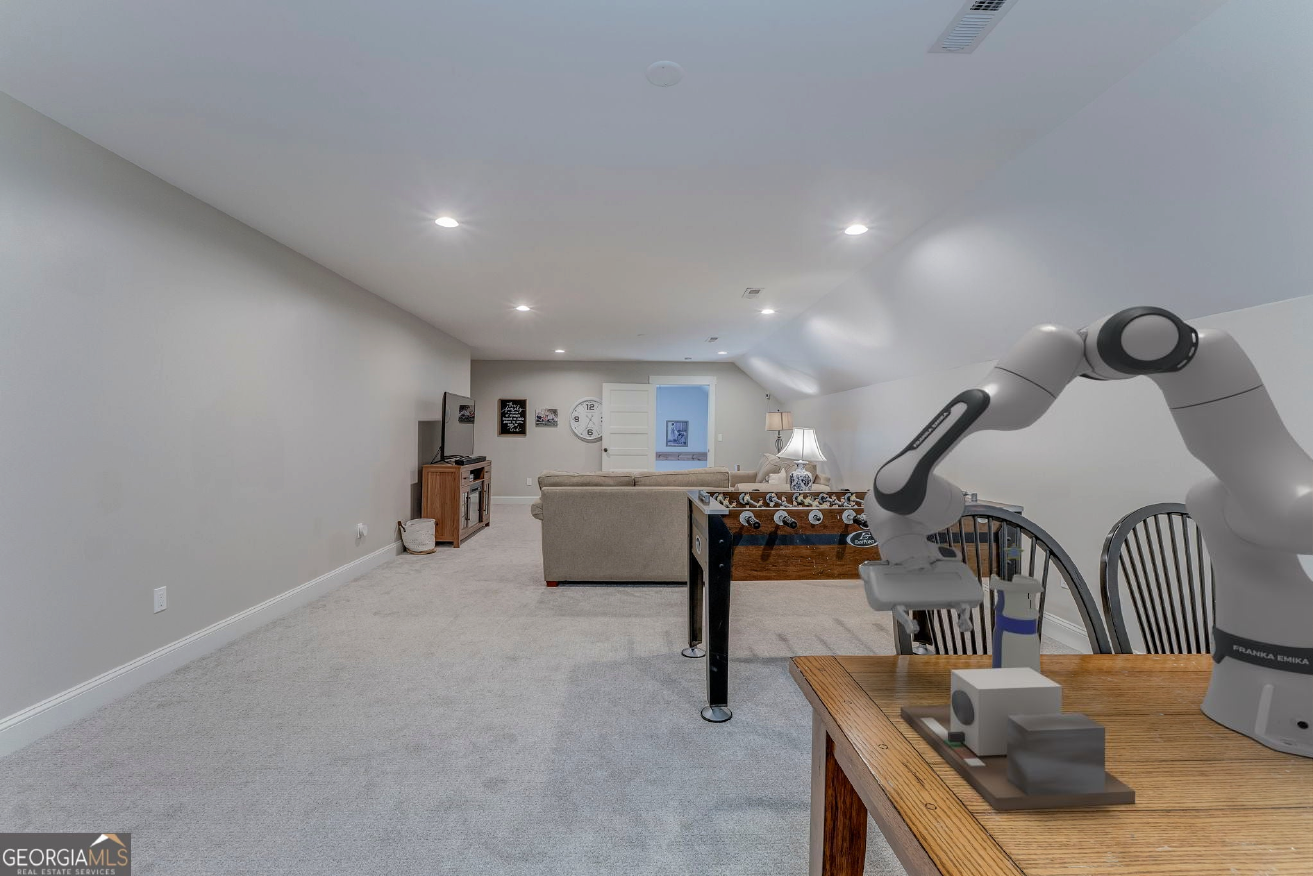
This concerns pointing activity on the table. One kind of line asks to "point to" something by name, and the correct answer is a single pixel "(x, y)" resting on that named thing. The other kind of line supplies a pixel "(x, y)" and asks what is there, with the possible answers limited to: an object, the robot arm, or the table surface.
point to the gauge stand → (1030, 760)
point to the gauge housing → (997, 704)
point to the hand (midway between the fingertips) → (940, 631)
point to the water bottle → (1016, 620)
